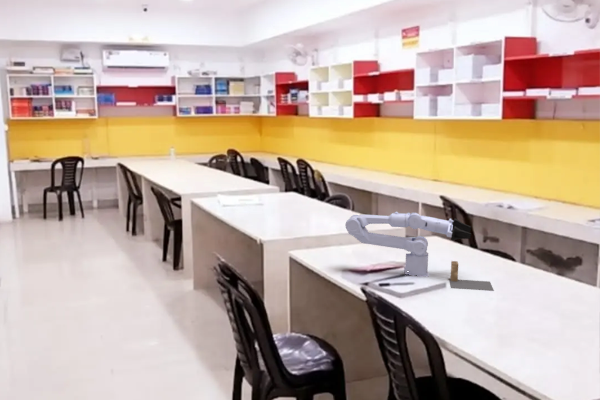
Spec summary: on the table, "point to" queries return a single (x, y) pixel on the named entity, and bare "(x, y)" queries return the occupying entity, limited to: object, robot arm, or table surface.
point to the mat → (471, 285)
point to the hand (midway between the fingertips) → (470, 232)
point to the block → (454, 271)
